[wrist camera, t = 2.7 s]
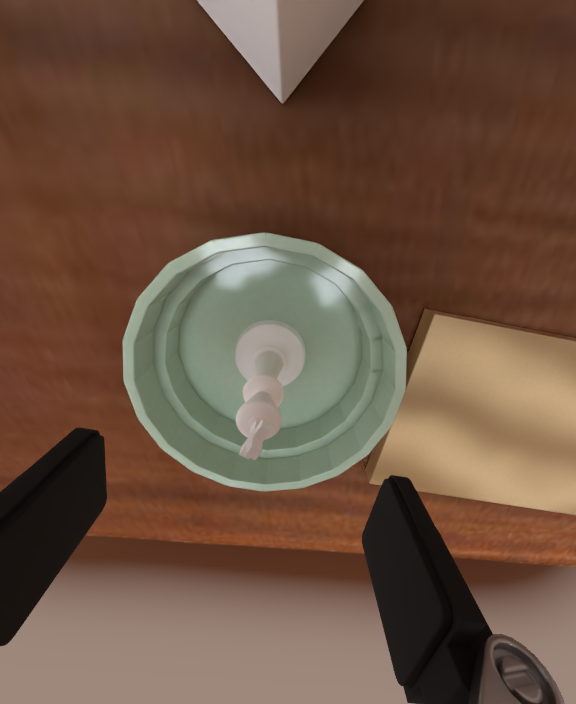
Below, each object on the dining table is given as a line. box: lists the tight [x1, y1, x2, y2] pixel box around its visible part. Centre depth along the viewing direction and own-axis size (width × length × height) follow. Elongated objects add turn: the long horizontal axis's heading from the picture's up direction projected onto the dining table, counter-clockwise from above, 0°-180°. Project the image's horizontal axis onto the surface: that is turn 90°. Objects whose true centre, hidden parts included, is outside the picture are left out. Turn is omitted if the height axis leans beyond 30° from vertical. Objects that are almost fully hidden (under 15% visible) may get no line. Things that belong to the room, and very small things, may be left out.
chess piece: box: [235, 320, 306, 460], centre depth 15 cm, size 5×5×10 cm
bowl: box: [123, 232, 407, 491], centre depth 18 cm, size 15×15×5 cm
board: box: [365, 309, 576, 515], centre depth 21 cm, size 14×20×2 cm
